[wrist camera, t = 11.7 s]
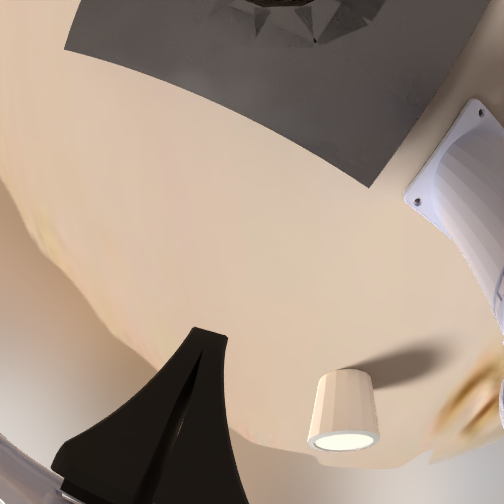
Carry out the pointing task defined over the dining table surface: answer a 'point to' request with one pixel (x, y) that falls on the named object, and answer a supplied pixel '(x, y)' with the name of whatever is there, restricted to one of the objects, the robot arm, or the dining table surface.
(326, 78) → the dark grey slab
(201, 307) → the dining table surface
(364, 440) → the cream tapered cylinder
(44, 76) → the dining table surface
